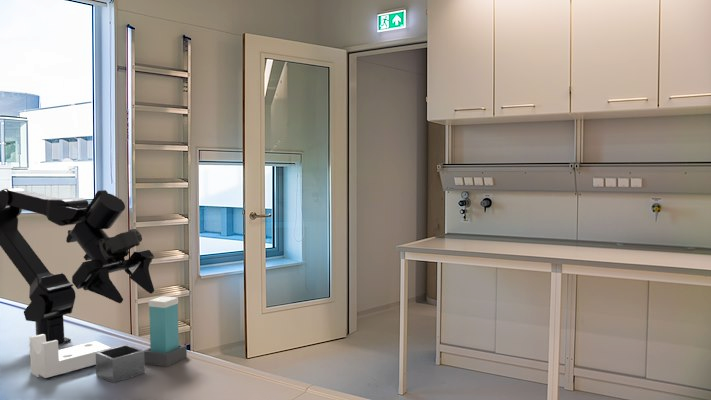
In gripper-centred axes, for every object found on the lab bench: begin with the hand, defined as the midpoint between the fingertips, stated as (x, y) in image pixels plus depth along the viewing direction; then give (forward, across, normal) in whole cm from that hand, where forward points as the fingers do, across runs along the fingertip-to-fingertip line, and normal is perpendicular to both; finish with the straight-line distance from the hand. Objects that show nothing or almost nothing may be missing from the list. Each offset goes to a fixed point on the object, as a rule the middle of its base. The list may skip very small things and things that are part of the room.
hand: (137, 296), depth 121 cm
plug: (+14, 0, +4) cm, 15 cm away
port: (+12, -10, +6) cm, 17 cm away
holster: (+14, 0, +4) cm, 15 cm away
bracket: (+4, -10, +15) cm, 19 cm away
